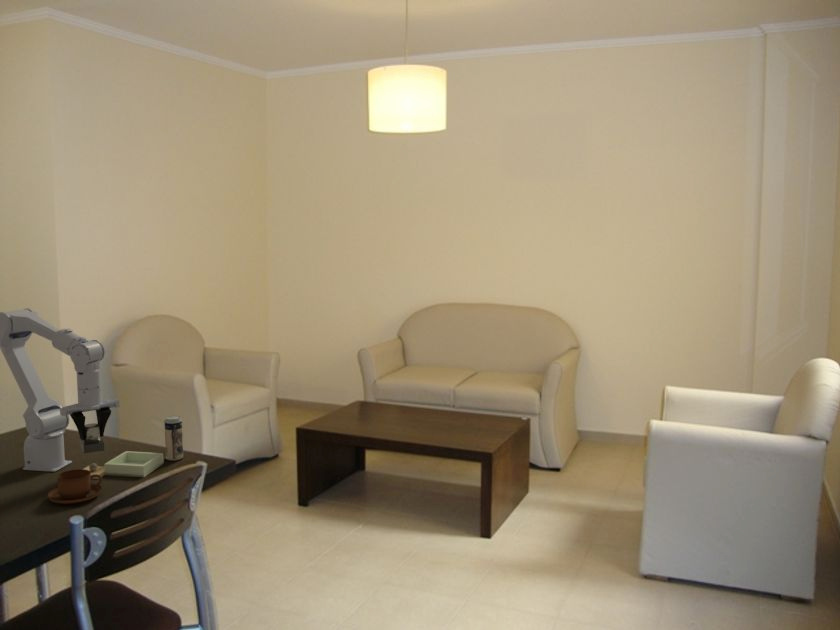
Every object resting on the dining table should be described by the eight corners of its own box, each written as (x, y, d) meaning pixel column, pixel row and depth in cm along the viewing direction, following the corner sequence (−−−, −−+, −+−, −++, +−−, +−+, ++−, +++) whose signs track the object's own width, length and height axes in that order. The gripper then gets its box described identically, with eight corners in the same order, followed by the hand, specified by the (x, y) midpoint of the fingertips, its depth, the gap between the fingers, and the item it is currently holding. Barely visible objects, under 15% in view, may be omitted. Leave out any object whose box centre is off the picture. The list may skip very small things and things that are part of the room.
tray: (104, 474, 199) (104, 464, 199) (126, 461, 210) (126, 451, 210) (143, 477, 198) (143, 466, 197) (163, 463, 209) (163, 453, 208)
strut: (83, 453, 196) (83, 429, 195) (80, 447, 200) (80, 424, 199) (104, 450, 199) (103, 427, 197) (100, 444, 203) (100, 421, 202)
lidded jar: (177, 462, 210) (176, 420, 208) (162, 460, 211) (160, 419, 209) (186, 456, 215) (185, 415, 213) (171, 455, 216) (169, 414, 214)
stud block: (73, 477, 197) (73, 466, 197) (88, 468, 204) (88, 458, 204) (98, 478, 196) (97, 468, 196) (113, 469, 203) (112, 459, 203)
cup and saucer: (87, 486, 192) (85, 462, 191) (111, 497, 184) (110, 473, 183) (38, 499, 182) (37, 475, 182) (62, 512, 175) (60, 486, 174)
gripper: (64, 394, 189) (67, 446, 191) (122, 386, 199) (125, 435, 201) (56, 389, 195) (59, 440, 196) (113, 381, 204) (115, 429, 206)
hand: (91, 437), depth 199 cm, fingers closed on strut, 4 cm apart
